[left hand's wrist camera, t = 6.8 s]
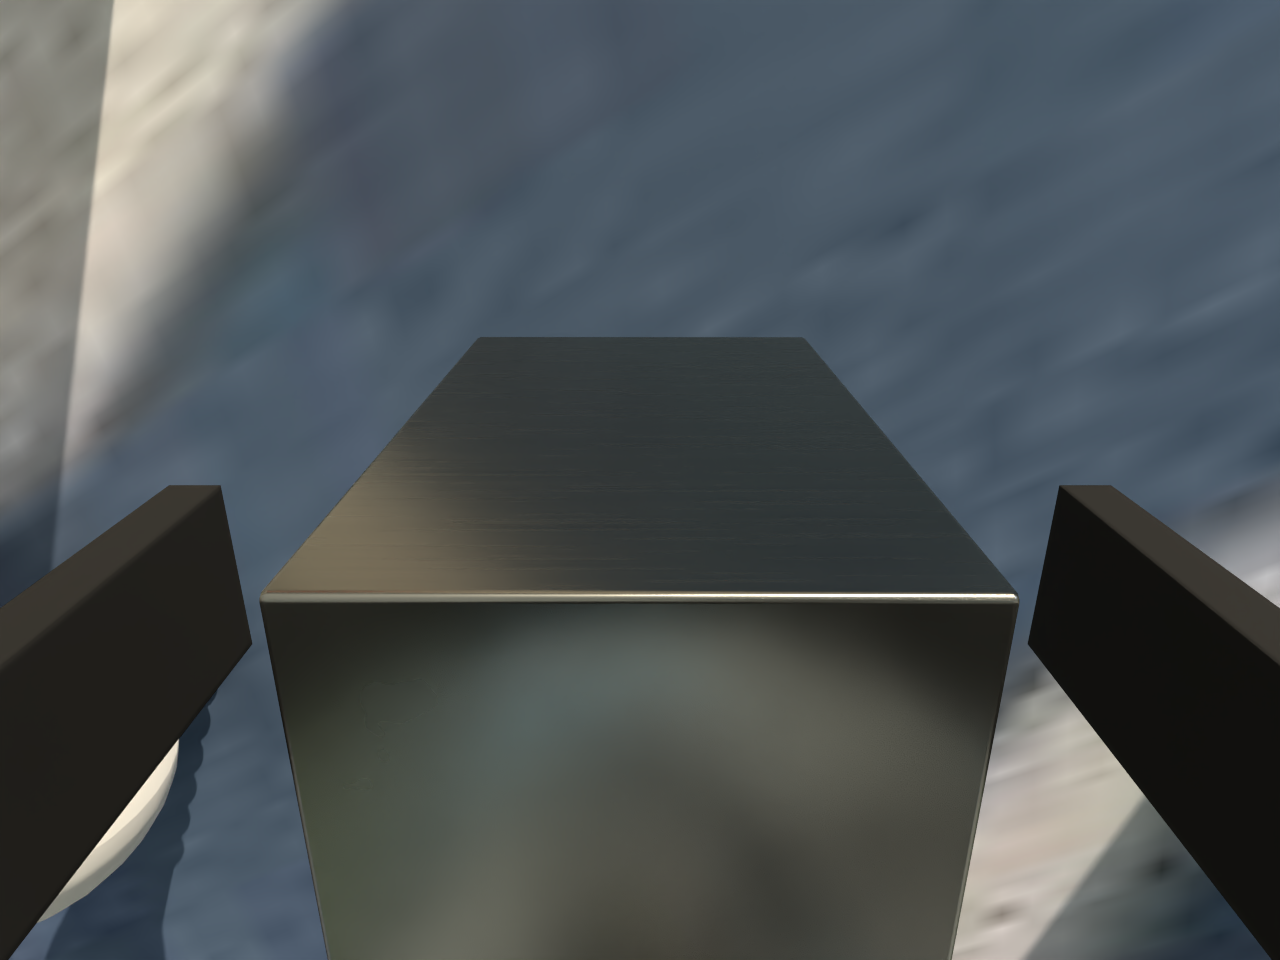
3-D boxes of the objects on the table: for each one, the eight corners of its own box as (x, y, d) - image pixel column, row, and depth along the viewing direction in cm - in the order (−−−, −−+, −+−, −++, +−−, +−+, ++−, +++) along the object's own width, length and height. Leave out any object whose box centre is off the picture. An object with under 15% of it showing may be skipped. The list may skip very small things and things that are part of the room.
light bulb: (252, 575, 29) (38, 813, 19) (260, 735, 31) (75, 1022, 21) (49, 552, 28) (-282, 782, 18) (73, 715, 31) (-206, 997, 21)
